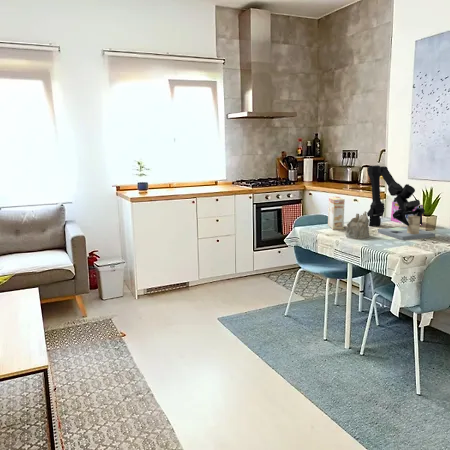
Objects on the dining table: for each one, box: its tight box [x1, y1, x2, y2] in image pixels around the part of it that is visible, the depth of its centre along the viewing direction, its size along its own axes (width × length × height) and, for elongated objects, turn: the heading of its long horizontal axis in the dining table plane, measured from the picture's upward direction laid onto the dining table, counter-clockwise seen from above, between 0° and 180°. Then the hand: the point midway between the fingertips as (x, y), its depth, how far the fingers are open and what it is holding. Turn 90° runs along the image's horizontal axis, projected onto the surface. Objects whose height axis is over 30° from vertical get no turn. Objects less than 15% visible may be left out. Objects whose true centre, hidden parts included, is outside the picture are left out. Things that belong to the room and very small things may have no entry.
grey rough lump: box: [344, 211, 371, 240], centre depth 250 cm, size 16×16×15 cm
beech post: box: [406, 215, 421, 234], centre depth 245 cm, size 4×4×10 cm
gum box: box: [390, 200, 424, 225], centre depth 286 cm, size 24×8×14 cm, turn 16°
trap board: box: [377, 226, 436, 241], centre depth 252 cm, size 22×22×2 cm
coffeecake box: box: [327, 196, 346, 231], centre depth 274 cm, size 15×7×20 cm, turn 179°
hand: (415, 225), depth 244 cm, fingers open, 9 cm apart
